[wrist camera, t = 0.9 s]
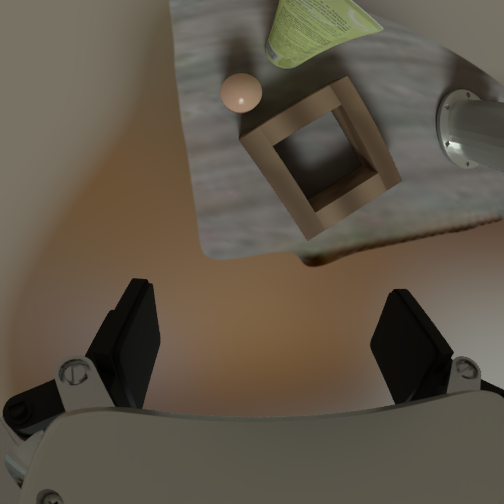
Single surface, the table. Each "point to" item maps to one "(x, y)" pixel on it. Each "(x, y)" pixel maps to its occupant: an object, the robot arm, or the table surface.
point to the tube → (314, 29)
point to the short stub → (241, 92)
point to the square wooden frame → (347, 188)
